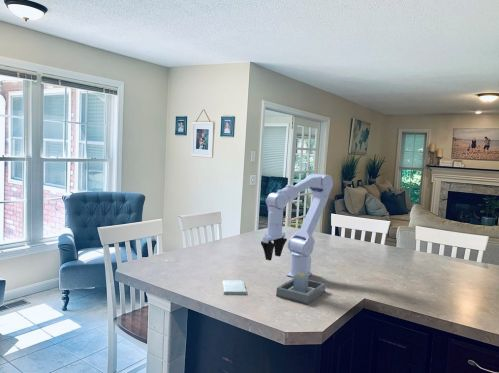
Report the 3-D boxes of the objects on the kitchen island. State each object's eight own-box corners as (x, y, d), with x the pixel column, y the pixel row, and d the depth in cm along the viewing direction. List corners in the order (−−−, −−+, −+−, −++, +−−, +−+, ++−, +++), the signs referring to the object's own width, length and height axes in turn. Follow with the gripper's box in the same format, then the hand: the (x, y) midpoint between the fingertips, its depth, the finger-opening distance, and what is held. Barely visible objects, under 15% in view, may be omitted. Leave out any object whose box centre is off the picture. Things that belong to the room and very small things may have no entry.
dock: (295, 284, 150) (296, 276, 150) (325, 291, 144) (325, 283, 143) (276, 296, 137) (276, 287, 136) (307, 304, 130) (308, 295, 130)
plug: (297, 289, 143) (298, 271, 143) (307, 291, 141) (308, 273, 140) (292, 292, 140) (294, 274, 139) (303, 294, 138) (304, 276, 137)
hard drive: (246, 291, 136) (243, 279, 149) (223, 291, 136) (222, 279, 148) (246, 296, 137) (243, 284, 149) (223, 296, 136) (221, 283, 148)
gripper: (275, 220, 159) (273, 252, 160) (256, 224, 146) (254, 259, 148) (290, 222, 155) (288, 255, 156) (273, 227, 143) (271, 263, 144)
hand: (273, 257), depth 152 cm, fingers open, 7 cm apart
